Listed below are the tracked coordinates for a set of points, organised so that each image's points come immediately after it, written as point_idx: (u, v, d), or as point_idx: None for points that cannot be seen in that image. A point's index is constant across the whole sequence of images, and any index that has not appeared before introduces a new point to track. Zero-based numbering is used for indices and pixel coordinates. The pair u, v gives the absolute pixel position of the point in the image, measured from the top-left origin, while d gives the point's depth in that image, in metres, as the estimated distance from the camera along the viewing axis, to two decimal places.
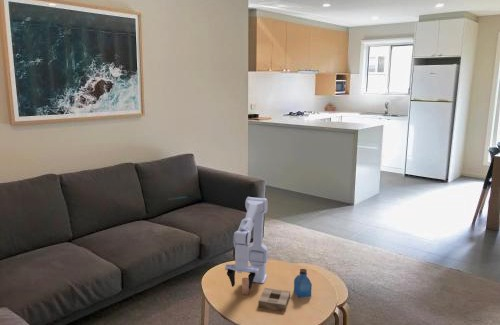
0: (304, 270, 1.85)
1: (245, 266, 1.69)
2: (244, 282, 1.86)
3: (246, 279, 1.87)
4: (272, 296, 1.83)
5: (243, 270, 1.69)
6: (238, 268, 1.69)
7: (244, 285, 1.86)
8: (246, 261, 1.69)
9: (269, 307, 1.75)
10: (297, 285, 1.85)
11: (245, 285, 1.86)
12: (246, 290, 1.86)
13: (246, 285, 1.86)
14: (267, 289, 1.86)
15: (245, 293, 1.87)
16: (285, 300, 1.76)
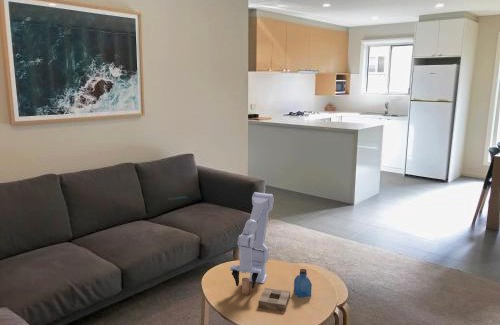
0: (304, 270, 1.85)
1: (249, 267, 1.83)
2: (244, 282, 1.86)
3: (246, 279, 1.87)
4: (272, 296, 1.83)
5: (247, 270, 1.83)
6: (242, 269, 1.83)
7: (244, 285, 1.86)
8: (250, 262, 1.83)
9: (269, 307, 1.75)
10: (297, 285, 1.85)
11: (245, 285, 1.86)
12: (246, 290, 1.86)
13: (246, 285, 1.86)
14: (267, 289, 1.86)
15: (245, 293, 1.87)
16: (285, 300, 1.76)
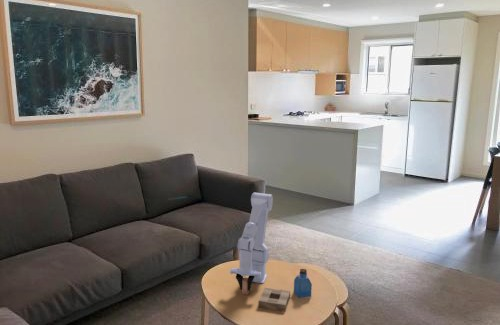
0: (304, 270, 1.85)
1: (249, 270, 1.83)
2: (244, 282, 1.86)
3: (246, 279, 1.87)
4: (272, 296, 1.83)
5: (247, 274, 1.83)
6: (242, 272, 1.83)
7: (244, 285, 1.86)
8: (249, 265, 1.83)
9: (269, 307, 1.75)
10: (297, 285, 1.85)
11: (245, 285, 1.86)
12: (246, 290, 1.86)
13: (246, 285, 1.86)
14: (267, 289, 1.86)
15: (245, 293, 1.87)
16: (285, 300, 1.76)
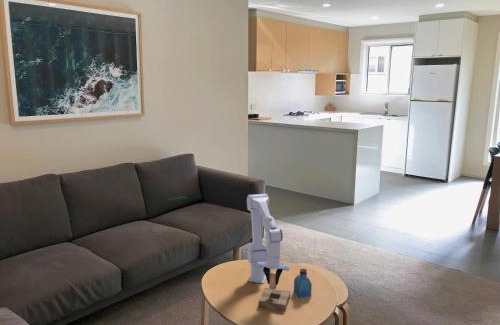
0: (304, 270, 1.85)
1: (277, 263, 1.75)
2: (272, 276, 1.77)
3: (274, 273, 1.78)
4: (272, 296, 1.83)
5: (275, 267, 1.75)
6: (270, 265, 1.75)
7: (272, 279, 1.77)
8: (278, 258, 1.75)
9: (269, 307, 1.75)
10: (297, 285, 1.85)
11: (273, 279, 1.77)
12: (274, 284, 1.78)
13: (274, 279, 1.77)
14: (267, 289, 1.86)
15: (273, 288, 1.78)
16: (285, 300, 1.76)
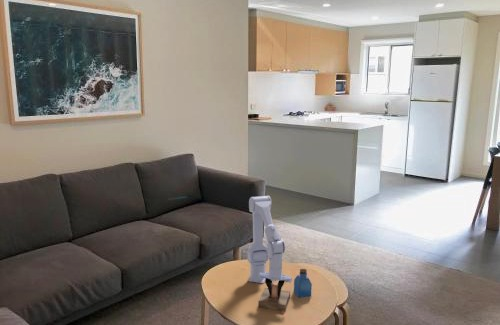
0: (304, 270, 1.85)
1: (279, 274, 1.75)
2: (274, 287, 1.77)
3: (276, 284, 1.78)
4: None
5: (277, 278, 1.75)
6: (272, 276, 1.75)
7: (274, 291, 1.78)
8: (280, 270, 1.75)
9: (269, 307, 1.75)
10: (297, 285, 1.85)
11: (275, 290, 1.78)
12: (276, 296, 1.78)
13: (276, 290, 1.78)
14: (267, 289, 1.86)
15: None
16: (285, 300, 1.76)
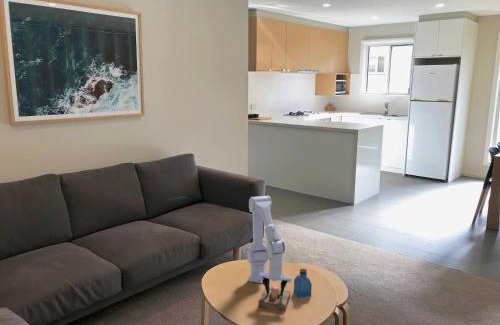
0: (304, 270, 1.85)
1: (279, 274, 1.75)
2: (274, 291, 1.78)
3: (276, 288, 1.79)
4: None
5: (277, 278, 1.75)
6: (272, 276, 1.75)
7: (274, 294, 1.78)
8: (280, 270, 1.75)
9: (269, 307, 1.75)
10: (297, 285, 1.85)
11: (275, 294, 1.78)
12: None
13: (276, 294, 1.78)
14: None
15: None
16: (285, 300, 1.76)
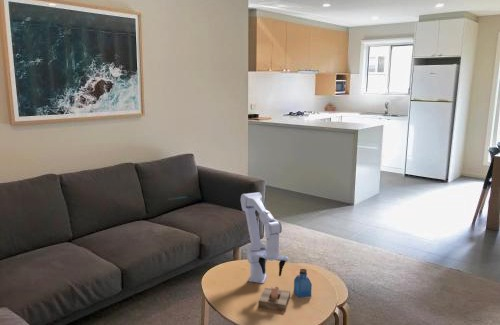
0: (304, 270, 1.85)
1: (276, 254, 1.82)
2: (274, 291, 1.78)
3: (275, 288, 1.79)
4: None
5: (274, 258, 1.81)
6: (269, 256, 1.82)
7: (274, 294, 1.78)
8: (277, 250, 1.82)
9: (269, 307, 1.75)
10: (297, 285, 1.85)
11: (275, 294, 1.78)
12: None
13: (276, 294, 1.78)
14: (267, 289, 1.86)
15: None
16: (285, 300, 1.76)
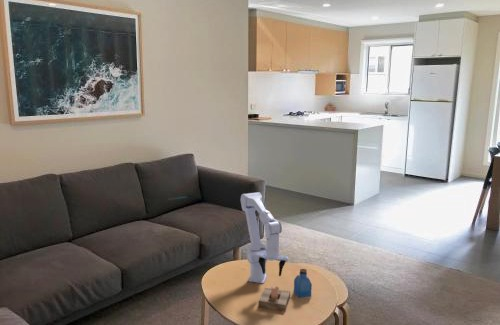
0: (304, 270, 1.85)
1: (276, 254, 1.82)
2: (274, 291, 1.78)
3: (275, 288, 1.79)
4: None
5: (274, 258, 1.81)
6: (269, 256, 1.82)
7: (274, 294, 1.78)
8: (277, 250, 1.82)
9: (269, 307, 1.75)
10: (297, 285, 1.85)
11: (275, 294, 1.78)
12: None
13: (276, 294, 1.78)
14: (267, 289, 1.86)
15: None
16: (285, 300, 1.76)
